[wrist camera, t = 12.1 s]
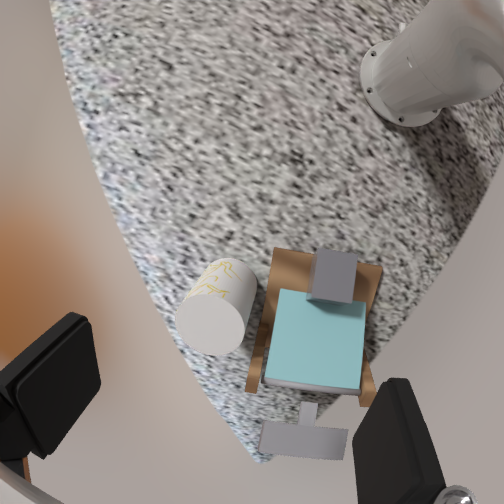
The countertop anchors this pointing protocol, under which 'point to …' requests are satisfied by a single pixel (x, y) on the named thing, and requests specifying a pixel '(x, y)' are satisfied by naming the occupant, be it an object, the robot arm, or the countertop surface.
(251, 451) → the countertop surface
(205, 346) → the cup
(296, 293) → the trapdoor
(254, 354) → the frame
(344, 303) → the grey block
